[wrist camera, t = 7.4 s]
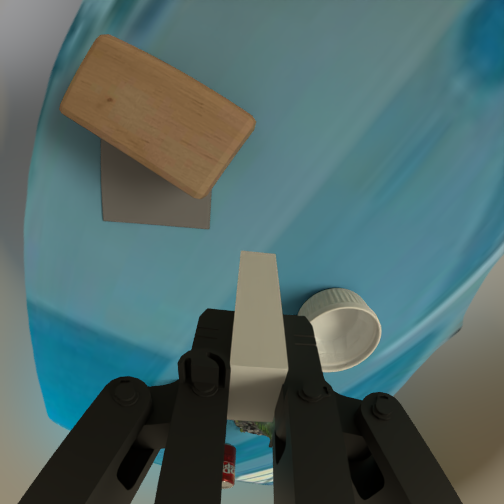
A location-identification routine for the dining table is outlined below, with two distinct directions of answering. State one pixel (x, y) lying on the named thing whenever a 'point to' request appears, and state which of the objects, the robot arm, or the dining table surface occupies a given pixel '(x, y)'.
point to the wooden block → (156, 115)
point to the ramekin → (341, 328)
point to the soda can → (229, 466)
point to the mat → (146, 195)
